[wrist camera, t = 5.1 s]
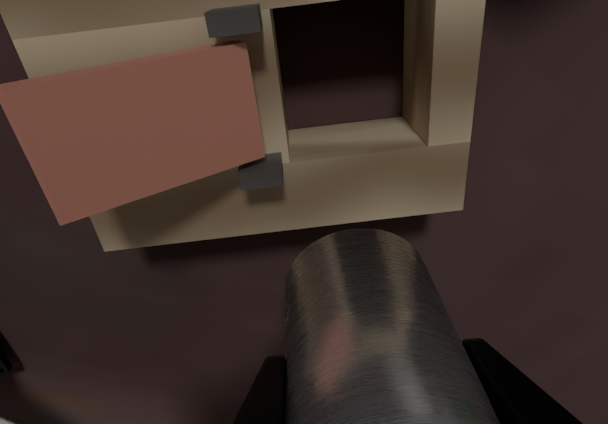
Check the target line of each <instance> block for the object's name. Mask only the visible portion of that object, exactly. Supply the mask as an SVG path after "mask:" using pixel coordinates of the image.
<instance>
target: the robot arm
mask: <svg viewBox="0 0 608 424" xmlns="http://www.w3.org/2000/svg"><path fill="white" fill-rule="evenodd" d="M462 344H463V346H464V348H465V350H466V352H467V355H468V357H469V359H470V361H471V363H472V365H473V367H474V369H475V371H476V374H477V376H478V378H479V380H480V382H481V384H482V386H483V388H484V390H485V393H486V395H487V397H488V399H489V401H490V403H491V405H492V407H493V410H494V412H495V414H496V416H497V418H498V420H499V422H500V424H583V423H581V422H580V421H579V420H578V419H577V418H575V417H574V416H573V415H572V414H571V413H570V412H568V411H567V410H566V409H565V408H564V407H562V406H561V405H560V404H559V403H558V402H557V401H555V400H554V399H553V398H552V397H551V396H549V395H548V394H547V393H546V392H545V391H544V390H542V389H541V388H540V387H539V386H538V385H536V384H535V383H534V382H533V381H532V380H531V379H529V378H528V377H527V376H526V375H525V374H523V373H522V372H521V371H520V370H519V369H518V368H516V367H515V366H514V365H513V364H512V363H510V362H509V361H508V360H507V359H506V358H504V357H503V356H502V355H501V354H500V353H499V352H497V351H496V350H495V349H494V348H493V347H491V346H490V345H489V344H488V343H487V342H486V341H484V340H483V339H480V338H474V339H465V340H463V341H462ZM11 368H12V365H11V363H10V362H9V360H8V359H7V358H6V356H5V355H4V353H3V352H2V350H1V349H0V376H3V375H6V374H8V372H9V371H10V370H11ZM233 424H285V357H284V356H283V355H276V356H268V357H267V358H266V359H265V361H264V363H263V365H262V367H261V369H260V371H259V372H258V374H257V376H256V378H255V380H254V382H253V384H252V386H251V388H250V390H249V392H248V394H247V396H246V398H245V400H244V402H243V404H242V406H241V408H240V410H239V412H238V414H237V416H236V418H235V420H234V422H233Z"/></svg>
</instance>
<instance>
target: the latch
mask: <svg viewBox="0 0 608 424" xmlns="http://www.w3.org/2000/svg"><path fill="white" fill-rule="evenodd" d="M0 104H1V106H2V108H3V110H4V112H5V114H6V116H7V118H8V120H9V122H10V124H11V126H12V128H13V130H14V132H15V134H16V137H17V139H18V141H19V143H20V145H21V147H22V149H23V151H24V153H25V155H26V157H27V159H28V161H29V163H30V165H31V167H32V169H33V171H34V173H35V175H36V178H37V180H38V182H39V184H40V186H41V188H42V190H43V192H44V194H45V196H46V198H47V200H48V202H49V204H50V206H51V208H52V210H53V212H54V214H55V216H56V219H57V221H58V223H59V225H60V226H61V225H64V224H67V223H70V222H73V221H76V220H79V219H82V218H85V217H88V216H91V215H94V214H97V213H100V212H103V211H106V210H109V209H112V208H115V207H118V206H121V205H124V204H127V203H130V202H132V201H135V200H138V199H141V198H144V197H147V196H150V195H153V194H156V193H159V192H162V191H165V190H168V189H171V188H174V187H177V186H180V185H183V184H186V183H189V182H192V181H195V180H198V179H201V178H204V177H207V176H210V175H213V174H216V173H219V172H222V171H225V170H228V169H230V168H233V167H236V166H239V165H242V164H245V163H248V162H251V161H254V160H257V159H260V158H263V157H265V153H264V147H263V141H262V134H261V128H260V122H259V116H258V110H257V104H256V98H255V92H254V86H253V80H252V74H251V68H250V62H249V56H248V50H247V44H246V42H244V41H237V40H231V41H226V42H220V43H215V44H210V45H205V46H199V47H194V48H189V49H183V50H178V51H173V52H168V53H162V54H157V55H152V56H147V57H141V58H136V59H131V60H126V61H120V62H115V63H110V64H105V65H99V66H94V67H89V68H84V69H78V70H73V71H68V72H63V73H57V74H52V75H47V76H41V77H36V78H31V79H26V80H20V81H15V82H10V83H5V84H0Z"/></svg>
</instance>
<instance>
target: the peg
mask: <svg viewBox="0 0 608 424" xmlns="http://www.w3.org/2000/svg"><path fill="white" fill-rule="evenodd" d="M285 424H500V422H499V420H498V418H497V416H496V414H495V412H494V410H493V407H492V405H491V403H490V401H489V399H488V397H487V395H486V393H485V390H484V388H483V386H482V384H481V382H480V380H479V378H478V376H477V374H476V371H475V369H474V367H473V365H472V363H471V361H470V359H469V357H468V355H467V352H466V350H465V348H464V346H463V344H462V342H461V340H460V338H459V335H458V333H457V331H456V329H455V327H454V325H453V323H452V321H451V319H450V316H449V314H448V312H447V310H446V308H445V306H444V304H443V302H442V300H441V297H440V295H439V293H438V291H437V289H436V287H435V285H434V283H433V280H432V278H431V276H430V274H429V272H428V270H427V268H426V266H425V264H424V261H423V259H422V258H421V256H420V254H419V253H418V251H417V250H416V249H415V248H414V247H413V246H412V245H411V244H410V243H409V242H407V241H406V240H404V239H403V238H401V237H399V236H397V235H395V234H393V233H390V232H387V231H384V230H379V229H372V228H353V229H346V230H342V231H338V232H334V233H331V234H329V235H326V236H324V237H322V238H320V239H318V240H316V241H315V242H313V243H312V244H310V245H309V246H308V247H307V248H305V249H304V250H303V251H302V252H301V253H300V254H299V255H298V256H297V258H296V259H295V260H294V262H293V263H292V265H291V267H290V269H289V271H288V275H287V278H286V285H285Z"/></svg>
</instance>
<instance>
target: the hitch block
mask: <svg viewBox="0 0 608 424" xmlns="http://www.w3.org/2000/svg"><path fill="white" fill-rule="evenodd" d="M330 1H338V0H0V14H1V16H2V18H3V20H4V23H5V25H6V27H7V30H8V32H9V34H10V36H11V39H12V41H13V43H14V45H15V48H16V50H17V52H18V55H19V57H20V59H21V61H22V64H23V66H24V68H25V71H26V73H27V75H28V77H29V79H31V78H36V77H41V76H47V75H52V74H57V73H63V72H68V71H73V70H78V69H84V68H89V67H94V66H99V65H105V64H110V63H115V62H120V61H126V60H131V59H136V58H141V57H147V56H152V55H157V54H162V53H168V52H173V51H178V50H183V49H189V48H194V47H199V46H205V45H210V44H215V43H220V42H226V41H231V40H237V41H244V42H246V44H247V50H248V56H249V62H250V68H251V74H252V80H253V86H254V92H255V98H256V104H257V110H258V116H259V122H260V128H261V134H262V141H263V147H264V153H265V157H263V158H260V159H257V160H254V161H251V162H248V163H245V164H242V165H239V166H236V167H233V168H230V169H228V170H225V171H222V172H219V173H216V174H213V175H210V176H207V177H204V178H201V179H198V180H195V181H192V182H189V183H186V184H183V185H180V186H177V187H174V188H171V189H168V190H165V191H162V192H159V193H156V194H153V195H150V196H147V197H144V198H141V199H138V200H135V201H132V202H130V203H127V204H124V205H121V206H118V207H115V208H112V209H109V210H106V211H103V212H100V213H97V214H94V215H91V216H89V217H90V219H91V221H92V224H93V226H94V228H95V230H96V233H97V235H98V237H99V240H100V242H101V244H102V246H103V249H104V251H114V250H122V249H131V248H140V247H148V246H157V245H165V244H174V243H183V242H191V241H200V240H208V239H217V238H225V237H234V236H243V235H251V234H260V233H268V232H277V231H286V230H294V229H303V228H311V227H320V226H329V225H337V224H346V223H354V222H363V221H372V220H380V219H389V218H397V217H406V216H415V215H423V214H432V213H440V212H449V211H458V210H463V203H464V194H465V185H466V176H467V167H468V157H469V148H470V139H471V130H472V121H473V112H474V103H475V93H476V84H477V75H478V66H479V57H480V48H481V39H482V29H483V20H484V11H485V2H486V0H404V51H403V104H402V117H395V118H386V119H378V120H369V121H361V122H352V123H344V124H335V125H327V126H319V127H310V128H302V129H293V130H288V125H287V117H286V109H285V102H284V94H283V86H282V78H281V71H280V63H279V55H278V48H277V40H276V32H275V24H274V17H273V9H272V8H280V7H288V6H297V5H305V4H313V3H321V2H330Z"/></svg>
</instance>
